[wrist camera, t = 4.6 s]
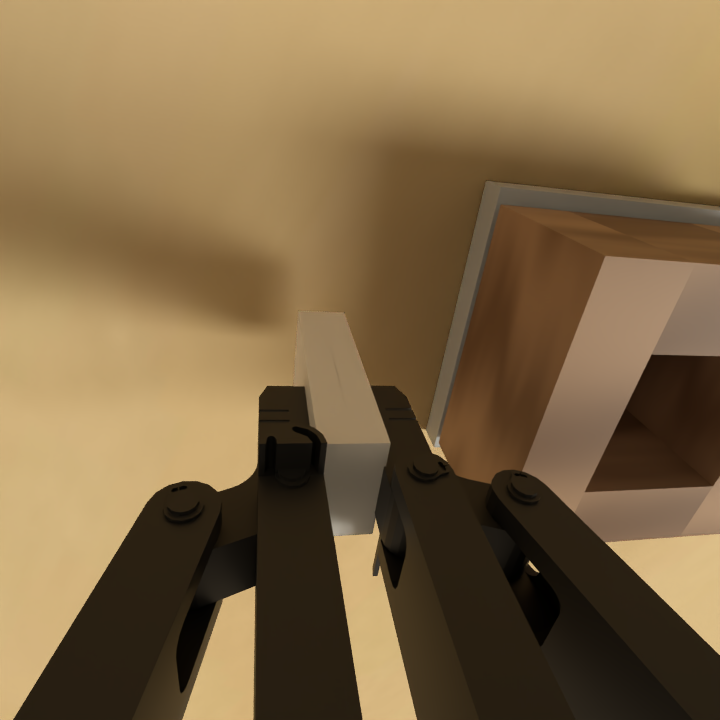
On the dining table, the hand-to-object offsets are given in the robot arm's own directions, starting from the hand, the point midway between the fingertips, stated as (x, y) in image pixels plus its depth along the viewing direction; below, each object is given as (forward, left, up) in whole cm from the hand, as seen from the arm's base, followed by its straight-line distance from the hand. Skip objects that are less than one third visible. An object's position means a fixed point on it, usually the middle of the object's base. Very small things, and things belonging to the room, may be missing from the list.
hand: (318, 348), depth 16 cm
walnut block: (0, +11, -1) cm, 11 cm away
